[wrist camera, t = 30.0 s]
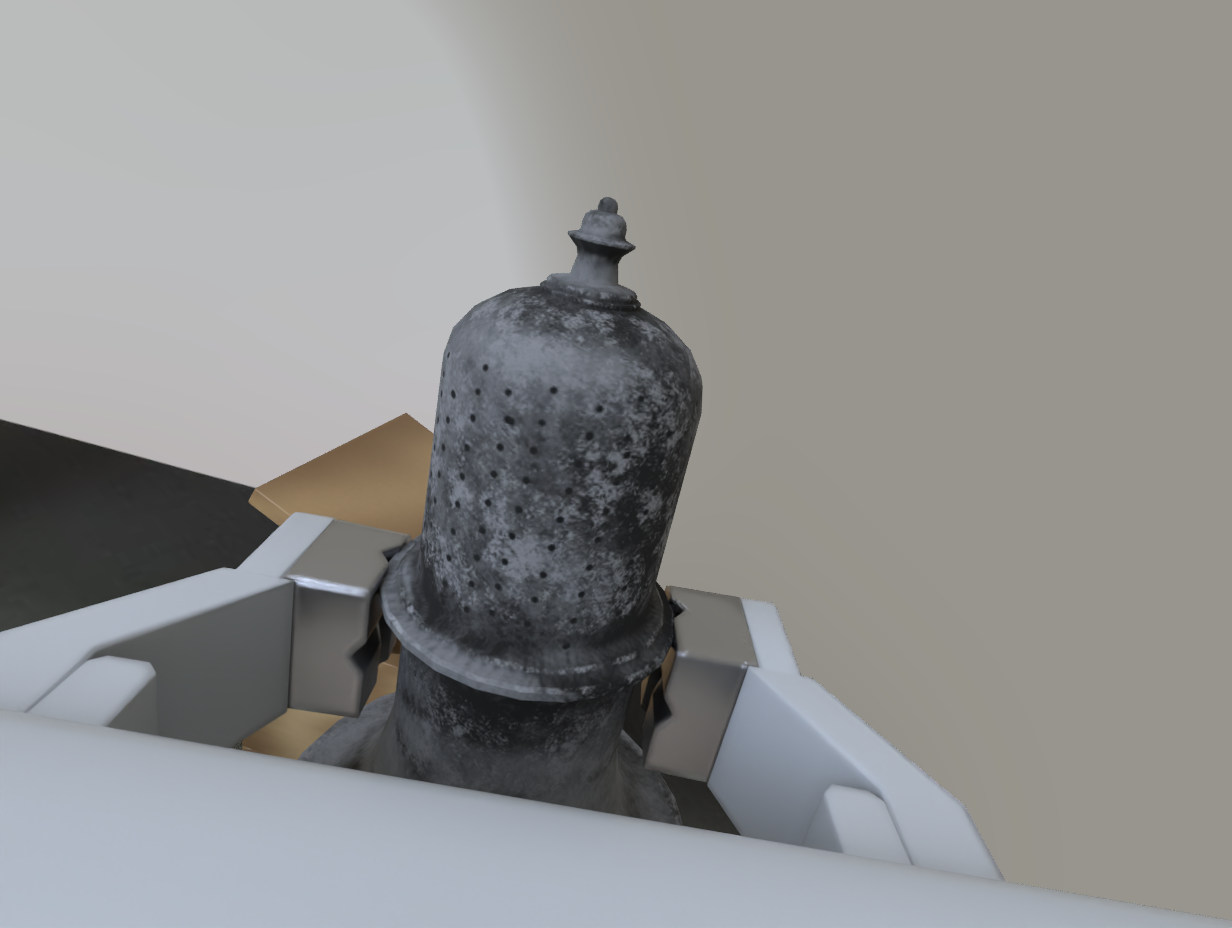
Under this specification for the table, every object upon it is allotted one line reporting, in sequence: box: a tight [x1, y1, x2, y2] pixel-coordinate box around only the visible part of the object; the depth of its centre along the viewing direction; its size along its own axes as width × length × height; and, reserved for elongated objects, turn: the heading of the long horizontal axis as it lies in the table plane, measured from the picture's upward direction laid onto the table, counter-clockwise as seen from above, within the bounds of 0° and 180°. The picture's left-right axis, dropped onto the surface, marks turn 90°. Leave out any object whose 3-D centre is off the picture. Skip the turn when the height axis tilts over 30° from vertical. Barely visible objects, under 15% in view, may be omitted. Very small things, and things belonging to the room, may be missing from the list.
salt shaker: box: [298, 197, 702, 826], centre depth 9 cm, size 6×6×12 cm
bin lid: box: [249, 413, 434, 540], centre depth 36 cm, size 14×13×1 cm
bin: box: [242, 638, 401, 760], centre depth 39 cm, size 14×13×9 cm
